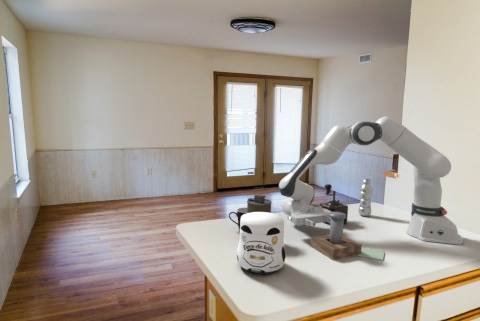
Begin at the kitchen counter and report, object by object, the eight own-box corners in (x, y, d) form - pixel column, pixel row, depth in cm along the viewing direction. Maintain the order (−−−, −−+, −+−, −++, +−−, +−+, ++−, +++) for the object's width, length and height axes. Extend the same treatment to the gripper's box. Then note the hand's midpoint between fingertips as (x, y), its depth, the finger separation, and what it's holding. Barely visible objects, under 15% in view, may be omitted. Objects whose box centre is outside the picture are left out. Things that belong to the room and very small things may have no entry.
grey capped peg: (344, 249, 139) (347, 213, 137) (341, 254, 134) (344, 217, 132) (328, 246, 142) (331, 210, 140) (325, 251, 136) (327, 214, 134)
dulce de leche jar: (249, 281, 111) (250, 228, 108) (229, 260, 127) (230, 213, 124) (294, 272, 118) (296, 222, 115) (270, 253, 133) (271, 209, 131)
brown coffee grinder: (348, 223, 172) (351, 188, 170) (333, 226, 167) (335, 191, 164) (326, 215, 186) (328, 183, 183) (311, 218, 180) (313, 184, 177)
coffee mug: (258, 230, 160) (258, 209, 158) (248, 235, 153) (249, 213, 151) (237, 225, 166) (237, 205, 165) (227, 230, 159) (227, 209, 157)
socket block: (337, 241, 147) (338, 233, 147) (361, 254, 134) (361, 244, 134) (310, 246, 141) (311, 237, 141) (332, 259, 129) (333, 249, 128)
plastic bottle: (372, 217, 183) (374, 181, 180) (358, 216, 184) (361, 180, 181) (370, 214, 189) (372, 179, 186) (357, 213, 190) (359, 178, 187)
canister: (275, 240, 148) (276, 195, 145) (259, 246, 140) (261, 199, 137) (256, 233, 155) (257, 191, 152) (240, 239, 147) (241, 194, 145)
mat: (384, 252, 137) (384, 251, 137) (382, 260, 129) (382, 259, 129) (360, 248, 141) (360, 247, 141) (357, 256, 133) (358, 255, 133)
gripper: (285, 209, 153) (303, 218, 140) (322, 205, 161) (342, 213, 148) (285, 223, 153) (302, 233, 141) (322, 218, 162) (341, 227, 149)
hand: (323, 222), depth 145 cm, fingers open, 8 cm apart
